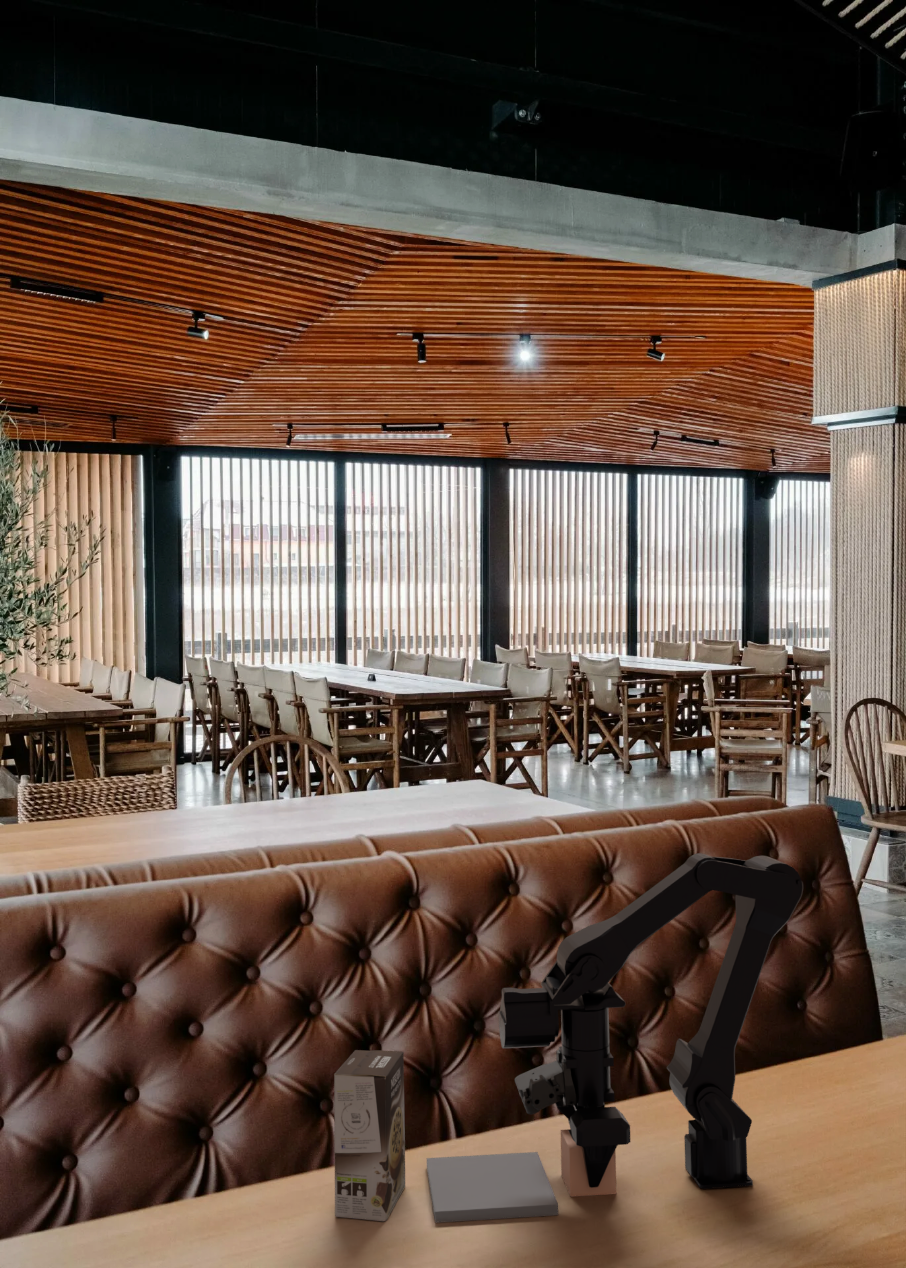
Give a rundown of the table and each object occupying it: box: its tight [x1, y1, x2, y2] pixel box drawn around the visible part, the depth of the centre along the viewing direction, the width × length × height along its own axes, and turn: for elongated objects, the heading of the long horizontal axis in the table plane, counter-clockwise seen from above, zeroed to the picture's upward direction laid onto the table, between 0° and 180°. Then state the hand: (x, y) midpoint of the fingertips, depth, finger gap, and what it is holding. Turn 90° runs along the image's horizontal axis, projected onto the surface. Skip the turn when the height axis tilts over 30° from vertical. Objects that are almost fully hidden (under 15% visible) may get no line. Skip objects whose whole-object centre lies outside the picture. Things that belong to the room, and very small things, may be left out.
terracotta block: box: [560, 1128, 617, 1198], centre depth 131 cm, size 6×6×6 cm
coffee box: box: [333, 1049, 406, 1222], centre depth 128 cm, size 9×6×16 cm
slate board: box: [426, 1151, 559, 1224], centre depth 130 cm, size 14×14×1 cm
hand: (588, 1175), depth 131 cm, fingers closed on terracotta block, 5 cm apart
